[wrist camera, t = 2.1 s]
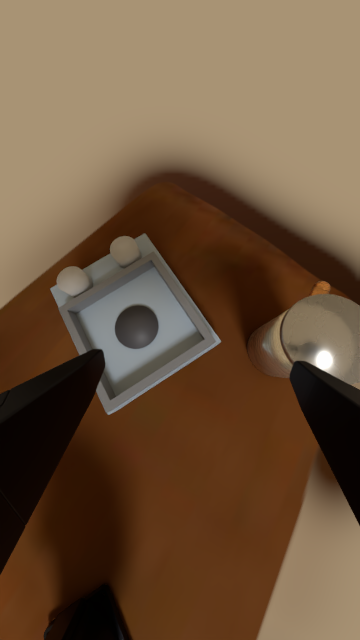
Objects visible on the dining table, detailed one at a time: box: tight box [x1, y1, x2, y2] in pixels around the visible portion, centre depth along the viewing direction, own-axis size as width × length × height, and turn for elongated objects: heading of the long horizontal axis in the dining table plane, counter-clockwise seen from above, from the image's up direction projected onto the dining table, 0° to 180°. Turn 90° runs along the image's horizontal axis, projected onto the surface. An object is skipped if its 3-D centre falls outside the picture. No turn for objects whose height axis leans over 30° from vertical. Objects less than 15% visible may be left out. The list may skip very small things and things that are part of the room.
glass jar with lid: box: [247, 281, 360, 385], centre depth 17 cm, size 8×6×10 cm
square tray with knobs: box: [50, 233, 221, 415], centre depth 22 cm, size 17×14×4 cm
